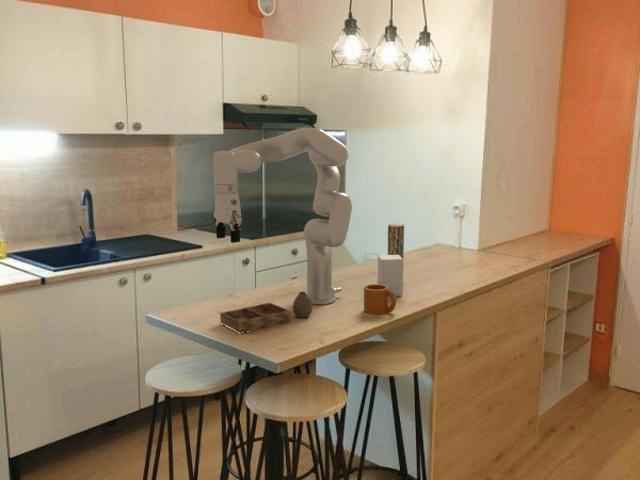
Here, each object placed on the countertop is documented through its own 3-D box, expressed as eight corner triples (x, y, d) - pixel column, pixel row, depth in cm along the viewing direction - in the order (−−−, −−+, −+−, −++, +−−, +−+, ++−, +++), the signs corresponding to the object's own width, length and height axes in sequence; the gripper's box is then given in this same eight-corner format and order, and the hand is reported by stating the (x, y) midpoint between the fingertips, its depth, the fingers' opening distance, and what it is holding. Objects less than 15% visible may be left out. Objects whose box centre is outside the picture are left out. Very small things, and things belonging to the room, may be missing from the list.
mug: (386, 318, 214) (386, 293, 212) (359, 311, 222) (358, 287, 220) (400, 311, 221) (400, 287, 219) (373, 305, 228) (373, 282, 227)
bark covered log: (385, 282, 261) (386, 225, 257) (388, 278, 268) (389, 222, 263) (401, 283, 259) (402, 225, 254) (404, 280, 265) (405, 223, 261)
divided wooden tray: (269, 313, 220) (269, 302, 219) (290, 322, 210) (290, 310, 209) (220, 324, 208) (220, 313, 207) (240, 334, 198) (240, 322, 197)
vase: (289, 315, 218) (289, 291, 216) (307, 312, 221) (307, 289, 219) (298, 320, 211) (297, 296, 210) (315, 317, 215) (315, 293, 213)
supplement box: (402, 296, 241) (403, 259, 238) (380, 296, 240) (380, 259, 237) (398, 290, 250) (399, 254, 247) (377, 290, 249) (377, 254, 246)
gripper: (249, 190, 196) (251, 242, 200) (223, 186, 210) (225, 235, 213) (229, 192, 192) (231, 245, 195) (203, 187, 205) (206, 237, 209)
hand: (228, 240), depth 204 cm, fingers open, 9 cm apart
